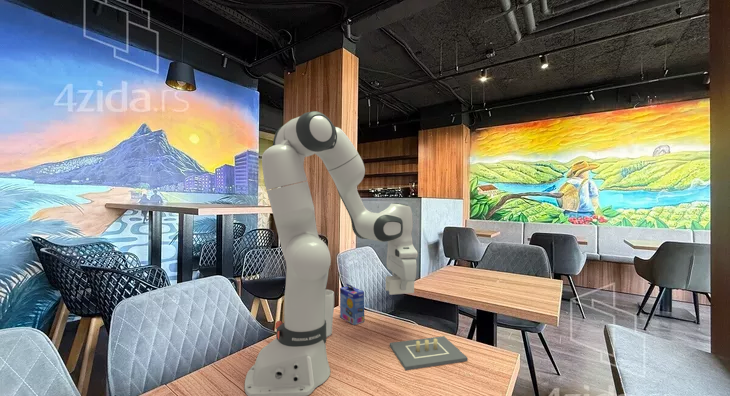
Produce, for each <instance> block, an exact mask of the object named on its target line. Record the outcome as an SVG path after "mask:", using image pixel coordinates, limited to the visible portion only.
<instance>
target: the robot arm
mask: <svg viewBox="0 0 730 396" xmlns="http://www.w3.org/2000/svg"><path fill="white" fill-rule="evenodd" d="M272 142H273V143H272V146H270V147H268V148H267V149H265V150H264V152H263V153H262V154H261V155H262V156H261V168H262V175H263V180H264V185H265V190H266V193H267V197H268V200H269V205H270V208H271V213H272V215H273V219H274V223H275V227H276V231H277V235H278V239H279V244H280V246H281V251H282V255H283V258H284V260H285V264H286V265H285V266H286V272H285V273H286V274H285V288H284V289H285V290H284V296H283V297H284V299H283V300H284V305H283V308H284V309H283V311H284V312H283V313H284V314H283V315H284V317H283V318H284V319H283V321H282V320H278V321H276V323H275V327H274V328H275V330H276V331H275V332H276V334H275V335H276V338H274V339H273V340H271V341H270V342H269V343H268V344H267V345H265V346H264V347H262V349H261V350H260V351H259V353H258V354H257V357H256V360H255V362H254V364H253V365H252V366H251V367H250V368H249V370H248V371H247V373H246V376H245V379H244V387H243V388H244V392H245V394H246V395H247V396H310V395H311V394H312V393H313V392H314V391H315V389H316V388H317V387H319V386H321V385H322V384H324V383H325V382H326V381H327V380H328V379H329V377H330V375H331V367H330V364H329V360H328V354H327V346H326V343H327V325H326V320H325V291H326V290H327V283H328V279H329V269H330V267H331V264H332V263H331V262H332V259H331V253H330V250H329V247H328V245H327V244H326V242H325V241H324V240H323V239H321V238H320V236H319V233H318V228H317V221H316V213H315V206H314V202H313V198H312V197H313V196H312V194H311V189H310V185H309V182H308V177H307V175H306V171H305V167H304V165H305V163H304V162H305V158H306V157H307V158H308V157H312V156H313V155H316V156H317V157H318V158H319V159H320V160H322V163H323V164H324V166H325V168H326V170H327V172H328V173H329V175H330V176H331V180H332V181H333V183H334V184H335V187H336V191H337V193H338V195H339V197H340V199H341V201H342V203H343V205H344V207H345V210H346V211H347V213H348V216H349V218H350V221H351V228H352V231H353V233H354V235H356V237H358V238H359V239H362V240H370V241H375V242H381V243H385V242H387V252H386V268H387V269H388V270H389V271H391V273H392V276H399V277H400V278H401V284H400V289H401V290H402V291H403V290H406V285H407V282H410V281H414V282H415V281H416V277H417V269H418V267H417V264H418V262H417V258H418V256H419V255H418V254H419V253H418V250H417V249H416V248H415V246H414V244H413V241H414V240H413V237H412V231H413V228H414V227H413V226H414V224H413V223H414V222H413V211H412V207H411V206H409V205H408V204H405V203H398V202H392V203H390V204H389V205H388V206H387V208H385V209H384V210H382V211H379V212H372V211H370V210H368V209H367V208H366V207H365V205H364V203H363V200H362V198H361V196H360V194H359V192H358V186H359V185H360V183H362V181H363V180H364V177H365V173H366V168H365V164H364V161H363V159H362V156H360V154H359V152H358V150H357V149H356V147H355V145H354V144H353V142H352V141H351V140H350V138H349V136H348V135H347V134H346V133H345V132H344V131H343V129H341V128H340V127H338V126H335V124H334V123H333V122H332V120H331V119H330V118H329V117H328V116H326V115H325V114H324V113H323V112H319V111H316V110H315V111H309V112H304V113H303V114H301V115H300V116H297V117H295V118H291V119H290V120H289V121H287V122H286V123H284V125H282V126H281V127H279V128H278V129H277V130H276V132H275V134H274V136H273V141H272Z"/></svg>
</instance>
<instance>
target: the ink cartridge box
mask: <svg viewBox="0 0 730 396" xmlns="http://www.w3.org/2000/svg"><path fill="white" fill-rule="evenodd" d="M345 284H346V286H342V287H340V288H339V311H340V312H339V313H340V314H339V315H340V318H342V319H343V320H345V321H346V322H348V323H349V324H351V325H353V326H356V325H358V324H361V323H364V322H365V290H362V289H360V288H356V287H355V286H353V285H351V284H350V283H345Z"/></svg>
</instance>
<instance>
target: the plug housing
mask: <svg viewBox="0 0 730 396" xmlns="http://www.w3.org/2000/svg"><path fill="white" fill-rule="evenodd" d="M400 284H401V278H400V277H399V276H393V275H392V276H391V275H388V276H385V291H386V292H388V295H390V296H391V295H392V296H393V295H403V294H414V293H415V280H414V281H410V282H407V285H406V290H403V291H402V290H401V289H400Z"/></svg>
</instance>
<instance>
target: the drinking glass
mask: <svg viewBox="0 0 730 396" xmlns="http://www.w3.org/2000/svg"><path fill="white" fill-rule="evenodd" d="M334 309H335V292H334V291H333V290H332V289H326V291H325V320H326V325H327V337H330V336H332V333H333V321H334Z"/></svg>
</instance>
